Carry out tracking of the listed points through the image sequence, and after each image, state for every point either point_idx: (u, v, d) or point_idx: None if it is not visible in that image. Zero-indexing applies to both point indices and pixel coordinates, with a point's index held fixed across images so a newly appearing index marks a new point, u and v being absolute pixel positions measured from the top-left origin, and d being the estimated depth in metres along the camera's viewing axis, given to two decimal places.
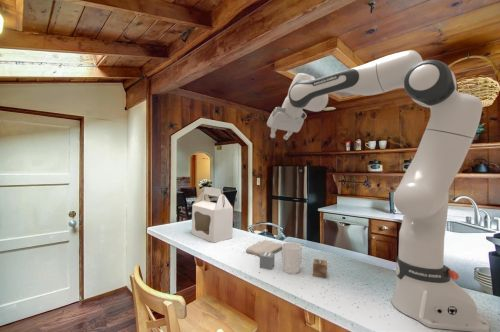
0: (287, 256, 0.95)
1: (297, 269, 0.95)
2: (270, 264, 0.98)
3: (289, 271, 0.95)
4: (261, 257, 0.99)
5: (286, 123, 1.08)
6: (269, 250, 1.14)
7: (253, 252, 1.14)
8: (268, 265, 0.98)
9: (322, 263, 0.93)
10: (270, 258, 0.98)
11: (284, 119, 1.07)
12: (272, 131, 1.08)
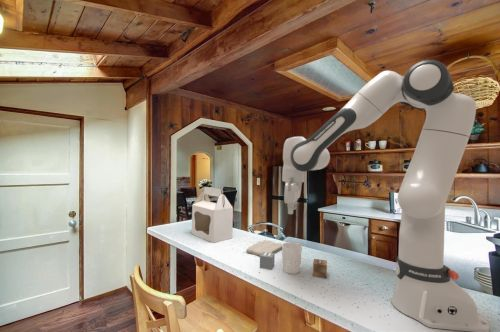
0: (287, 256, 0.95)
1: (297, 269, 0.95)
2: (270, 264, 0.98)
3: (289, 271, 0.95)
4: (261, 257, 0.99)
5: (296, 192, 0.96)
6: (269, 250, 1.14)
7: (253, 252, 1.14)
8: (268, 265, 0.98)
9: (322, 263, 0.93)
10: (270, 258, 0.98)
11: (295, 189, 0.94)
12: (290, 207, 0.92)
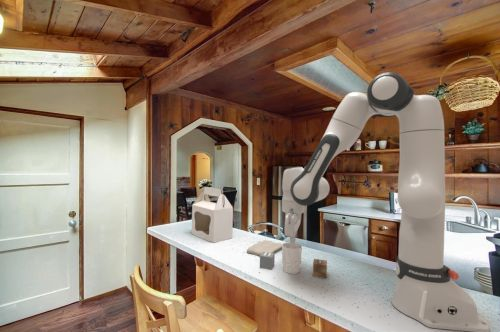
0: (287, 256, 0.95)
1: (297, 269, 0.95)
2: (270, 264, 0.98)
3: (289, 271, 0.95)
4: (261, 257, 0.99)
5: (297, 223, 0.96)
6: (270, 250, 1.14)
7: (254, 252, 1.14)
8: (268, 265, 0.98)
9: (322, 263, 0.93)
10: (270, 258, 0.98)
11: (295, 220, 0.94)
12: None
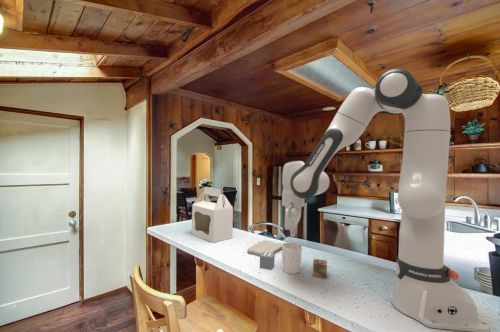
0: (287, 256, 0.95)
1: (297, 269, 0.95)
2: (270, 264, 0.98)
3: (289, 271, 0.95)
4: (261, 257, 0.99)
5: (297, 216, 0.96)
6: (270, 250, 1.14)
7: (255, 252, 1.13)
8: (268, 265, 0.98)
9: (322, 263, 0.93)
10: (270, 258, 0.98)
11: (295, 214, 0.94)
12: (292, 230, 0.96)
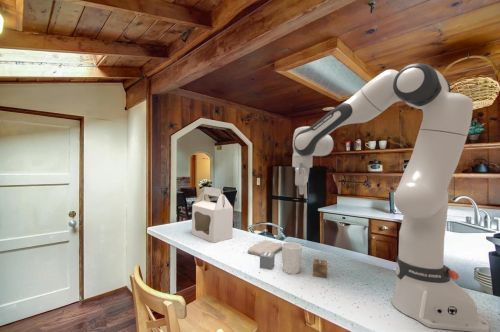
0: (287, 256, 0.95)
1: (297, 269, 0.95)
2: (270, 264, 0.98)
3: (289, 271, 0.95)
4: (261, 257, 0.99)
5: (305, 176, 1.08)
6: (271, 250, 1.14)
7: (255, 253, 1.13)
8: (268, 265, 0.98)
9: (322, 263, 0.93)
10: (270, 258, 0.98)
11: None
12: (301, 188, 1.07)
